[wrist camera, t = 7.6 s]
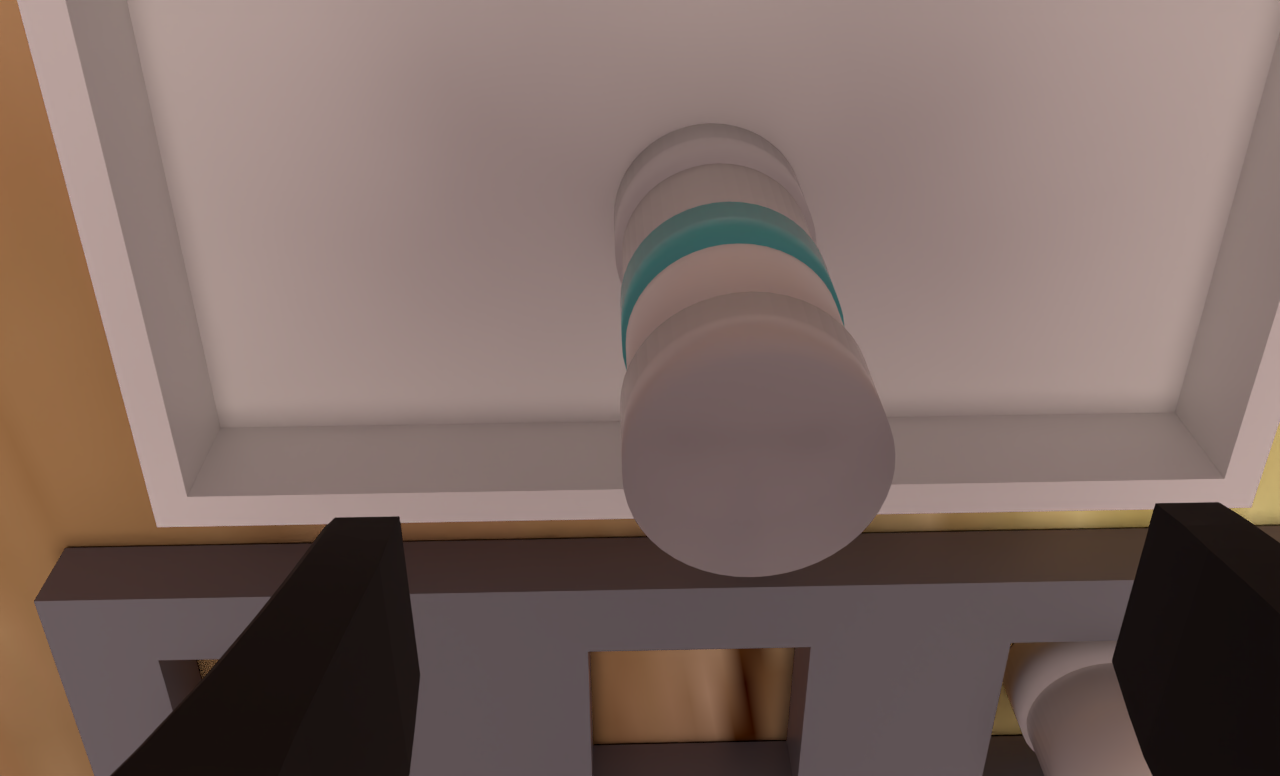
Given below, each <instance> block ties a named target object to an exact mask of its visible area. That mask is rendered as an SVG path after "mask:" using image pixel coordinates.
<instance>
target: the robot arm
mask: <svg viewBox="0 0 1280 776" xmlns="http://www.w3.org/2000/svg"><path fill="white" fill-rule="evenodd" d="M1112 663H1113V667H1114V670H1115V673H1116V676H1117V679H1118V683H1119V686H1120V689H1121V692H1122V695H1123V698H1124V702H1125V705H1126V708H1127V711H1128V714H1129V717H1130V720H1131V723H1132V726H1133V728H1134V731H1135V734H1136V737H1137V740H1138V743H1139V745H1140V748H1141V751H1142V754H1143V757H1144V759H1145V761H1146V763H1147V765H1148V767H1149V769H1150V772H1151V774H1152V776H1280V543H1279V542H1278V541H1276V540H1275V539H1274V538H1272V537H1271V536H1269V535H1268V534H1267V533H1265V532H1264V531H1262V530H1261V529H1259V528H1258V527H1256V526H1255V525H1253V524H1252V523H1250V522H1249V521H1247V520H1246V519H1244V518H1243V517H1242V516H1240V515H1238V514H1237V513H1235V512H1234V511H1232V510H1231V509H1229V508H1227V507H1226V506H1224V505H1223V504H1221V503H1219V502H1197V503H1155V507H1154V510H1153V514H1152V518H1151V521H1150V525H1149V528H1148V532H1147V536H1146V539H1145V543H1144V546H1143V550H1142V554H1141V557H1140V561H1139V564H1138V568H1137V572H1136V575H1135V579H1134V582H1133V586H1132V590H1131V593H1130V597H1129V600H1128V604H1127V608H1126V611H1125V615H1124V618H1123V622H1122V626H1121V629H1120V633H1119V636H1118V640H1117V644H1116V647H1115V651H1114V654H1113V658H1112ZM419 683H420V669H419V661H418V653H417V646H416V638H415V631H414V623H413V615H412V608H411V600H410V593H409V585H408V577H407V570H406V562H405V555H404V547H403V539H402V532H401V524H400V516H392V517H335V518H334V519H333V520H332V521H331V522H330V523H329V524H327V525H326V526H325V527H324V529H323V530H322V531H321V533H320V534H319V535H318V537H317V538H316V539H315V540H314V542H313V543H312V544H311V546H310V547H309V548H308V550H307V551H306V552H305V554H304V555H303V556H302V558H301V559H300V560H299V562H298V563H297V564H296V566H295V567H294V568H293V570H292V571H291V572H290V573H289V575H288V576H287V577H286V579H285V580H284V581H283V582H282V584H281V585H280V586H279V588H278V589H277V590H276V591H275V593H274V594H273V595H272V596H271V598H270V599H269V600H268V601H267V603H266V604H265V605H264V606H263V608H262V609H261V610H260V611H259V613H258V614H257V615H256V616H255V618H254V619H253V620H252V621H251V622H250V624H249V625H248V626H247V627H246V628H245V630H244V631H243V632H242V633H241V634H240V635H239V637H238V638H237V639H236V640H235V641H234V643H233V644H232V645H231V646H230V647H229V648H228V650H227V651H226V652H225V653H224V654H223V656H222V657H221V658H220V659H219V660H218V662H217V663H216V664H215V665H214V666H213V667H212V669H211V670H210V671H209V672H208V673H207V674H206V675H205V677H204V678H203V679H202V680H201V681H200V682H199V683H198V685H197V686H196V687H195V688H194V689H193V690H192V691H191V692H190V693H189V694H188V695H187V696H186V697H185V698H184V700H183V701H182V702H181V703H180V704H179V705H178V706H177V707H176V708H175V709H174V710H173V711H172V712H171V713H170V714H169V716H168V717H167V718H166V719H165V720H164V721H163V722H162V723H161V724H160V725H159V726H158V727H157V728H156V729H155V730H154V732H153V733H152V734H151V735H150V736H149V737H148V738H147V739H146V740H145V741H144V742H143V743H142V744H141V745H140V746H139V747H138V748H137V749H136V750H135V751H134V752H133V753H132V754H131V755H130V756H129V757H128V758H127V759H126V760H125V761H124V762H123V763H122V764H121V765H120V766H119V767H118V768H117V769H116V770H115V771H114V772H113V773H112V774H111V775H110V776H409V774H410V766H411V757H412V749H413V740H414V732H415V722H416V713H417V703H418V693H419Z"/></svg>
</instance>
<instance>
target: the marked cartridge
mask: <svg viewBox="0 0 1280 776" xmlns="http://www.w3.org/2000/svg"><path fill="white" fill-rule="evenodd" d="M614 234H615V258H616V267H617V272H618V276H619V279H620V282H621V284H622V286H621V296H620V308H621V335H622V352H623V359H624V363H625V367H626V370H627V371H626V374H625V376H624V380H623V384H622V389H621V397H620V425H621V457H622V479H623V489H624V493H625V497H626V501H627V504H628V506H629V509H630V511H631V513H632V516H633V517H634V519H635V521H636V522H637V524H638V525H639V527H640V528H641V530H642V531H643V532H644V533H645V534H646V535H647V537H648V538H649V539H650V540H651V541H652V542H653V543H655V544H656V545H657V546H658V547H659V548H660V549H661V550H663V551H664V552H666V553H667V554H669V555H670V556H672V557H673V558H675V559H677V560H679V561H681V562H683V563H685V564H687V565H689V566H692V567H695V568H698V569H700V570H703V571H707V572H711V573H715V574H720V575H727V576H734V577H761V576H772V575H777V574H783V573H788V572H791V571H795V570H799V569H802V568H805V567H807V566H810V565H812V564H815V563H818V562H820V561H822V560H823V559H825V558H827V557H829V556H831V555H833V554H835V553H836V552H838V551H839V550H841V549H842V548H844V547H845V546H847V545H848V544H849V543H850V542H851V541H853V540H854V539H855V538H856V537H857V536H859V535H860V534H861V533H862V532H863V530H864V529H865V528H866V527H867V526H868V525H869V524H870V523H871V521H872V520H873V519H874V517H875V516H876V515H877V513H878V512H879V510H880V509H881V507H882V505H883V503H884V501H885V499H886V497H887V495H888V492H889V490H890V487H891V484H892V480H893V475H894V470H895V445H894V439H893V435H892V431H891V428H890V425H889V422H888V419H887V417H886V414H885V411H884V409H883V406H882V403H881V401H880V398H879V395H878V393H877V390H876V387H875V385H874V382H873V379H872V377H871V374H870V371H869V369H868V366H867V363H866V361H865V358H864V356H863V354H862V352H861V350H860V347H859V346H858V344H857V343H856V341H855V340H854V338H853V337H852V335H851V334H850V333H849V332H848V331H847V330H846V329H845V327H844V319H843V313H842V309H841V306H840V302H839V300H838V297H837V294H836V291H835V289H834V286H833V283H832V281H831V278H830V275H829V272H828V270H827V267H826V264H825V262H824V259H823V257H822V255H821V253H820V251H819V249H818V247H817V246H816V234H815V227H814V223H813V220H812V216H811V213H810V211H809V208H808V205H807V203H806V200H805V197H804V195H803V192H802V189H801V187H800V184H799V181H798V179H797V177H796V174H795V172H794V170H793V168H792V167H791V165H790V163H789V162H788V160H787V159H786V158H785V156H784V155H783V154H782V153H781V152H780V151H779V150H778V149H777V148H776V147H775V146H774V145H773V144H771V143H770V142H769V141H767V140H766V139H764V138H763V137H761V136H760V135H758V134H756V133H753V132H751V131H749V130H747V129H743V128H740V127H737V126H732V125H727V124H714V123H709V124H697V125H693V126H688V127H684V128H681V129H678V130H675V131H672V132H670V133H668V134H666V135H664V136H662V137H661V138H659V139H657V140H656V141H654V142H653V143H651V144H650V145H649V146H648V147H647V148H645V149H644V150H643V151H642V152H641V153H640V154H639V155H638V156H637V157H636V158H635V160H634V161H633V162H632V163H631V165H630V166H629V168H628V169H627V171H626V172H625V174H624V176H623V178H622V180H621V183H620V185H619V188H618V191H617V195H616V200H615V206H614Z"/></svg>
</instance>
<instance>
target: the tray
mask: <svg viewBox="0 0 1280 776" xmlns="http://www.w3.org/2000/svg"><path fill="white" fill-rule="evenodd" d="M17 2H18V6H19V9H20V13H21V17H22V21H23V24H24V28H25V32H26V36H27V39H28V43H29V47H30V51H31V54H32V58H33V62H34V66H35V69H36V73H37V77H38V81H39V85H40V88H41V92H42V96H43V100H44V103H45V107H46V111H47V115H48V118H49V122H50V126H51V130H52V133H53V137H54V141H55V145H56V148H57V152H58V156H59V160H60V164H61V167H62V171H63V175H64V179H65V182H66V186H67V190H68V194H69V197H70V201H71V205H72V209H73V212H74V216H75V220H76V224H77V227H78V231H79V235H80V239H81V243H82V246H83V250H84V254H85V258H86V261H87V265H88V269H89V273H90V276H91V280H92V284H93V288H94V291H95V295H96V299H97V303H98V306H99V310H100V314H101V318H102V322H103V325H104V329H105V333H106V337H107V340H108V344H109V348H110V352H111V355H112V359H113V363H114V367H115V370H116V374H117V378H118V382H119V385H120V389H121V393H122V397H123V401H124V404H125V408H126V412H127V416H128V419H129V423H130V427H131V431H132V434H133V438H134V442H135V446H136V449H137V453H138V457H139V461H140V464H141V468H142V472H143V476H144V480H145V483H146V487H147V491H148V495H149V498H150V502H151V506H152V510H153V513H154V517H155V521H156V525H157V527H196V526H252V525H307V524H329V523H330V522H331V521H332V520H333V519H334V518H335V517H392V516H400V523H419V522H474V521H530V520H586V519H634V517H633V516H632V513H631V511H630V509H629V506H628V504H627V501H626V497H625V493H624V489H623V479H622V457H621V425H620V397H621V389H622V384H623V380H624V376H625V374H626V371H627V370H626V367H625V363H624V359H623V352H622V335H621V308H620V296H621V286H622V284H621V282H620V279H619V276H618V272H617V267H616V258H615V234H614V206H615V200H616V195H617V191H618V188H619V185H620V183H621V180H622V178H623V176H624V174H625V172H626V171H627V169H628V168H629V166H630V165H631V163H632V162H633V161H634V160H635V158H636V157H637V156H638V155H639V154H640V153H641V152H642V151H643V150H644V149H645V148H647V147H648V146H649V145H650V144H651V143H653V142H654V141H656V140H657V139H659V138H661V137H662V136H664V135H666V134H668V133H670V132H672V131H675V130H678V129H681V128H684V127H688V126H693V125H697V124H709V123H714V124H727V125H732V126H737V127H740V128H743V129H747V130H749V131H751V132H753V133H756V134H758V135H760V136H761V137H763V138H764V139H766V140H767V141H769V142H770V143H771V144H773V145H774V146H775V147H776V148H777V149H778V150H779V151H780V152H781V153H782V154H783V155H784V156H785V158H786V159H787V160H788V162H789V163H790V165H791V167H792V168H793V170H794V172H795V174H796V177H797V179H798V181H799V184H800V187H801V189H802V192H803V195H804V197H805V200H806V203H807V205H808V208H809V211H810V213H811V216H812V220H813V223H814V227H815V234H816V246H817V247H818V249H819V251H820V253H821V255H822V257H823V259H824V262H825V264H826V267H827V270H828V272H829V275H830V278H831V281H832V283H833V286H834V289H835V291H836V294H837V297H838V300H839V302H840V306H841V309H842V313H843V319H844V327H845V329H846V330H847V331H848V332H849V333H850V334H851V335H852V337H853V338H854V340H855V341H856V343H857V344H858V346H859V347H860V350H861V352H862V354H863V356H864V358H865V361H866V363H867V366H868V369H869V371H870V374H871V377H872V379H873V382H874V385H875V387H876V390H877V393H878V395H879V398H880V401H881V403H882V406H883V409H884V411H885V414H886V417H887V419H888V422H889V425H890V428H891V431H892V435H893V439H894V445H895V470H894V475H893V480H892V484H891V487H890V490H889V492H888V495H887V497H886V499H885V501H884V503H883V505H882V507H881V509H880V510H879V512H878V513H877V514H920V513H975V512H1031V511H1087V510H1142V509H1154V507H1155V503H1197V502H1219V503H1221V504H1223V505H1224V506H1226V507H1227V508H1251V506H1252V503H1253V500H1254V497H1255V494H1256V491H1257V488H1258V485H1259V482H1260V479H1261V476H1262V473H1263V470H1264V467H1265V464H1266V461H1267V458H1268V455H1269V452H1270V449H1271V446H1272V443H1273V440H1274V437H1275V434H1276V431H1277V428H1278V425H1279V422H1280V0H17Z"/></svg>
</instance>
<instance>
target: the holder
mask: <svg viewBox="0 0 1280 776" xmlns="http://www.w3.org/2000/svg"><path fill="white" fill-rule="evenodd" d="M1256 527H1258V528H1259V529H1261V530H1262V531H1264V532H1265V533H1267V534H1268V535H1269V536H1271V537H1272V538H1274V539H1275V540H1276V541H1278V542H1279V543H1280V526H1256ZM1147 532H1148V528H1130V529H1075V530H1021V531H966V532H912V533H861V534H860V535H859V536H857V537H856V538H855V539H854V540H853V541H851V542H850V543H849V544H848V545H847V546H845V547H844V548H842V549H841V550H839V551H838V552H836V553H835V554H833V555H831V556H829V557H827V558H825V559H823V560H822V561H820V562H818V563H815V564H812V565H810V566H807V567H805V568H802V569H799V570H795V571H791V572H788V573H783V574H777V575H772V576H761V577H734V576H727V575H720V574H715V573H711V572H707V571H703V570H700V569H698V568H695V567H692V566H689V565H687V564H685V563H683V562H681V561H679V560H677V559H675V558H673V557H672V556H670V555H669V554H667V553H666V552H664V551H663V550H661V549H660V548H659V547H658V546H657V545H656V544H655V543H653V542H652V541H651V540H650V539H649V538H648V537H639V538H584V539H530V540H475V541H420V542H403V547H404V555H405V562H406V570H407V577H408V585H409V593H410V600H411V608H412V615H413V623H414V631H415V638H416V646H417V653H418V661H419V669H420V683H419V693H418V703H417V713H416V722H415V732H414V740H413V749H412V757H411V766H410V774H409V776H1044V774H1043V771H1042V769H1041V766H1040V763H1039V761H1038V758H1037V756H1036V753H1035V752H1034V751H1033V750H1032V749H1031V748H1030V747H1029V745H1028V744H1027V743H1026V741H1025V739H1024V737H1023V736H991V733H992V728H993V724H994V719H995V714H996V710H997V705H998V700H999V696H1000V691H1001V687H1002V682H1003V677H1004V673H1005V668H1006V663H1007V659H1008V654H1009V649H1010V645H1011V643H1032V642H1081V641H1117V640H1118V636H1119V633H1120V629H1121V626H1122V622H1123V618H1124V615H1125V611H1126V608H1127V604H1128V600H1129V597H1130V593H1131V590H1132V586H1133V582H1134V579H1135V575H1136V572H1137V568H1138V564H1139V561H1140V557H1141V554H1142V550H1143V546H1144V543H1145V539H1146V536H1147ZM311 544H312V543H311ZM311 544H257V545H202V546H148V547H93V548H65V549H64V551H63V553H62V554H61V556H60V558H59V560H58V561H57V563H56V565H55V566H54V568H53V570H52V571H51V573H50V575H49V577H48V578H47V580H46V582H45V583H44V585H43V587H42V588H41V590H40V592H39V594H38V595H37V597H36V599H35V600H34V603H35V606H36V609H37V612H38V614H39V617H40V620H41V623H42V626H43V629H44V632H45V635H46V638H47V640H48V643H49V646H50V649H51V652H52V655H53V658H54V661H55V663H56V666H57V669H58V672H59V675H60V678H61V681H62V684H63V686H64V689H65V692H66V695H67V698H68V701H69V704H70V707H71V709H72V712H73V715H74V718H75V721H76V724H77V727H78V730H79V733H80V735H81V738H82V741H83V744H84V747H85V750H86V753H87V756H88V758H89V761H90V764H91V767H92V770H93V773H94V776H110V775H111V774H112V773H113V772H114V771H115V770H116V769H117V768H118V767H119V766H120V765H121V764H122V763H123V762H124V761H125V760H126V759H127V758H128V757H129V756H130V755H131V754H132V753H133V752H134V751H135V750H136V749H137V748H138V747H139V746H140V745H141V744H142V743H143V742H144V741H145V740H146V739H147V738H148V737H149V736H150V735H151V734H152V733H153V732H154V730H155V729H156V728H157V727H158V726H159V725H160V724H161V723H162V722H163V721H164V720H165V719H166V718H167V717H168V716H169V714H170V713H171V712H172V711H173V710H174V709H175V708H176V707H177V706H178V705H179V704H180V703H181V702H182V701H183V700H184V698H185V697H186V696H187V695H188V694H189V693H190V692H191V691H192V690H193V689H194V688H195V687H196V686H197V685H198V683H199V682H200V681H201V676H200V672H199V669H198V665H197V661H196V660H202V659H220V658H221V657H222V656H223V654H224V653H225V652H226V651H227V650H228V648H229V647H230V646H231V645H232V644H233V643H234V641H235V640H236V639H237V638H238V637H239V635H240V634H241V633H242V632H243V631H244V630H245V628H246V627H247V626H248V625H249V624H250V622H251V621H252V620H253V619H254V618H255V616H256V615H257V614H258V613H259V611H260V610H261V609H262V608H263V606H264V605H265V604H266V603H267V601H268V600H269V599H270V598H271V596H272V595H273V594H274V593H275V591H276V590H277V589H278V588H279V586H280V585H281V584H282V582H283V581H284V580H285V579H286V577H287V576H288V575H289V573H290V572H291V571H292V570H293V568H294V567H295V566H296V564H297V563H298V562H299V560H300V559H301V558H302V556H303V555H304V554H305V552H306V551H307V550H308V548H309V547H310V546H311ZM788 647H795V653H794V664H793V675H792V686H791V697H790V709H789V720H788V731H787V741H765V742H721V743H676V744H631V745H593V722H592V689H591V656H590V652H592V651H641V650H690V649H739V648H788Z"/></svg>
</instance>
